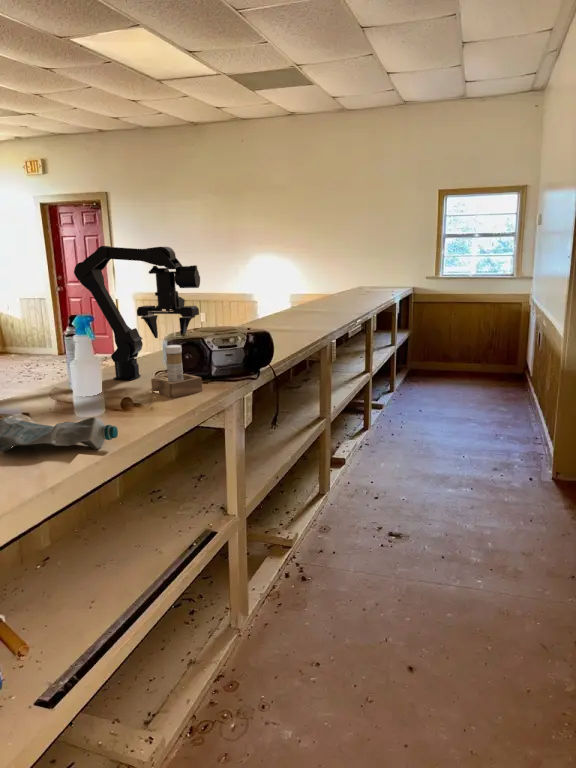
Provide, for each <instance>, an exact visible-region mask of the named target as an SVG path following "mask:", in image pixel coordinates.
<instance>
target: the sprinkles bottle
mask: <svg viewBox="0 0 576 768" xmlns="http://www.w3.org/2000/svg"><path fill="white" fill-rule="evenodd" d="M164 347H165V349H164V350H165V351H164V352H165V355H166V370H167V371H166V373H167V381H168V382H172V383H174V382H178V381H183V373H184V370H183V358H182V352H183V351H182V350H183V349H182V348H183V347H182V345H180V344H171V345H170V344H169V345H166V346H164Z"/></svg>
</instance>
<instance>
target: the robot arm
mask: <svg viewBox="0 0 576 768" xmlns="http://www.w3.org/2000/svg"><path fill="white" fill-rule="evenodd" d="M111 260H121V261H137V262H144V263H146V264H150V265H153V266H152V268H151V269H150V270H149V271H148V274H149V275H152V274H153V275H155V282H156V283H155V284H156V292H154V296H155V297H157V305H142V306H138V307H137V309H136V316H137V317H140V319H141V320H143V321H144V322H145V323H146V324H147V327H148V328H149V330H150V332H151V334H152V336H153V337H154V339H158V337H159V335H158V334H159V332H158V323H157V319H158V315H180V316H181V317H179V319H178V320H179V327H180V336H181V335H182V334H187V330H188V327H189V324H190V322H191V320H192V319H195V318H196V316H199V315H200V310H199V307H198V306H197V305H186V304H185V303H186V302H185V301H186V300H185V299H184V298H183V297H181V296H179V291H178V290H177V289H176V286H178V287H179V288H180V289H199V287H200V284H201V275H200V272H199V269H198V265H195V264H194V265H188V266H187V265H182V263H181V262H180V261H179V259H178V258H177V256H176V252H175V251H174V249H173V248H172V247H170V246H156V247H147V248H134V247H133V248H132V247H115V246H110V245H100V246H99V247H98V248H97V249H95V251H94V252H92V253H91V254H90V255H89V256H87V257H86V258H85V259H84V260H83V261H82V262H78V263H77V264H75V266H74V270H73V275H74V276H75V278H76V279H77V280H78V282H79V283H80V285H82V286H83V287H84V288H86V290H88V291H89V292H90V293H91V295H92V296H93V298H94V300H95V302H96V303H97V305H98V307H99V309H100V310H101V312H102V314H103V315H104V317H105V320H106V321H107V323H108V324H109V326H110V328H111V330H112V332H113V336H114V342H115V346H116V350H114V351H113V352H112V353H111V356H110V357H111V360H112V363H113V362H114V370H115V372H114V373H115V377H113V380H117V381H119V380H120V381H132V380H135V379H138V378H139V377H141V376H142V375H141V374H140V370H139V369H140V368H139V367H140V366H139V363H138V361H137V358H138V355H139V352H140V351H142V348H143V344H144V343H143V337H141V336H140V334H139V330H138V329H137V328H136V327H135V328H130V327H129V326H128V325H127V323H126V321H125V319H124V317H123V315H121V314H122V313H121V312H120V310H119V309H118V306H117V305H116V304H115V302H114V299H113V298H112V297H111V295H110V293H109V291H108V289H107V287H106V285H105V278H104V275H103V270H104V269H105V268H106V267H107V265H108V263H109V262H110V261H111ZM158 266H159V267H158ZM172 270H173V271H172ZM157 314H158V315H157Z"/></svg>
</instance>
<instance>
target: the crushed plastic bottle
mask: <svg viewBox="0 0 576 768" xmlns="http://www.w3.org/2000/svg"><path fill="white" fill-rule="evenodd" d="M118 434H119V429H118V427H117V426H116V425H114V426H113V425H112V424H105V423H104V421H103V420H102V419H101V418H100V417H99V418H98V417H95V416H92V417H88V418H86V419H83V420H80V421H76V422H74V421H63V422H59V423H56V424H55V425H54V426H53V425H48V424H41V423H36V422H30V421H25V420H20V419H18V418H14V417H4V418H1V419H0V452H1V453H2V452H7V451H10V450H11V449H10V448H11V447H12V446H14V447H16V446H29V445H30V446H31V445H36V444H43V445H49V446H62V447H63V446H66V447H68V446H73V445H77V444H79V443H81V444H82V445H85V446H87V447H89V448H92V449H94V450H100V449H101V448H102V446H103V445H104V444H105V441H111V440H113V439H116V438H118ZM9 449H10V450H9Z"/></svg>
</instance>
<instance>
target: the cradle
mask: <svg viewBox="0 0 576 768" xmlns="http://www.w3.org/2000/svg"><path fill="white" fill-rule="evenodd" d="M202 381H203V378H202V377H201V376H197V375H192V374H188V373H184V374H183V381H178V382H174V383H172V382H168V380H167V381H166V380H163V379H160V378H157V377H156V378H155V377H153V378H151V381H150V382H151V392H152V391H159V393H160V394H159V395H160V396H164V397H169V398H170V399H175V398H179V397H183V396H186V395H191V394H196V393H198V392H199V393H200V392H202V391H203V382H202Z"/></svg>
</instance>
